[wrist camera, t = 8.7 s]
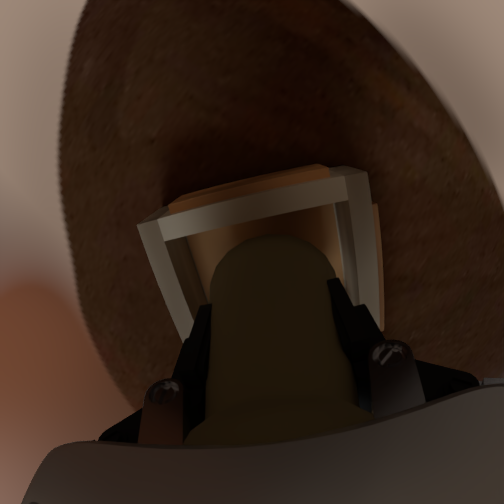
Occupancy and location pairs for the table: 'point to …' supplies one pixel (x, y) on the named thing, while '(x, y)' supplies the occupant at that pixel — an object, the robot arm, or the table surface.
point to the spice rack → (267, 222)
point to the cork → (274, 348)
